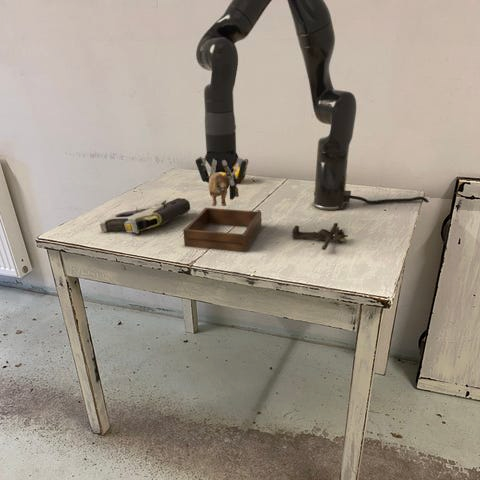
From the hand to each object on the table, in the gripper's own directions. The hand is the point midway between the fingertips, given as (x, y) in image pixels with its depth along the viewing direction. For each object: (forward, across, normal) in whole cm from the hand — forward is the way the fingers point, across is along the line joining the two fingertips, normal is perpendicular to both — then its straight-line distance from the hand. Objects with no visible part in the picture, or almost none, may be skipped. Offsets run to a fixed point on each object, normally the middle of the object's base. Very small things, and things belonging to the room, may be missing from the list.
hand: (223, 197), depth 128 cm
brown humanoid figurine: (+11, +26, +3) cm, 28 cm away
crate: (+11, 0, 0) cm, 11 cm away
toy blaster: (+11, -25, +4) cm, 28 cm away
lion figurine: (+1, 0, 0) cm, 1 cm away
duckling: (+11, -12, +49) cm, 51 cm away
